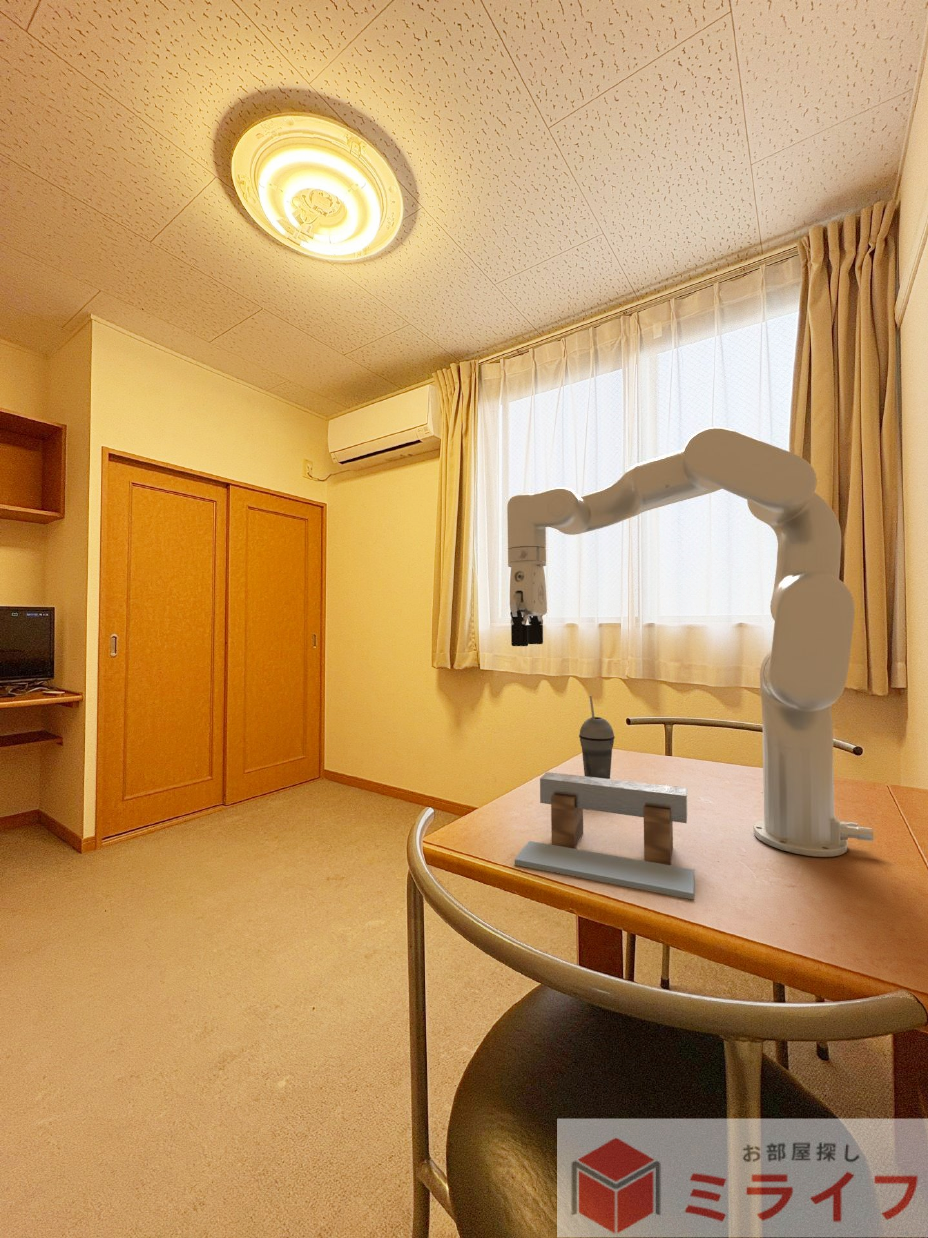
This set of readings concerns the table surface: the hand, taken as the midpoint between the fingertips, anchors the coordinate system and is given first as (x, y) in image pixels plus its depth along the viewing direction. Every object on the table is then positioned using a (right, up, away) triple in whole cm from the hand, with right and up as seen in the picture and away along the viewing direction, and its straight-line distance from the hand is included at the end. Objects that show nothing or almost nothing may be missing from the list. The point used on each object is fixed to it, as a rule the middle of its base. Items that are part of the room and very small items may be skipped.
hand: (527, 645), depth 102 cm
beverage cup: (+15, -31, +6) cm, 35 cm away
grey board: (+7, -31, -28) cm, 42 cm away
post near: (+17, -31, -23) cm, 42 cm away
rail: (+11, -25, -20) cm, 34 cm away
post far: (+4, -31, -18) cm, 36 cm away
